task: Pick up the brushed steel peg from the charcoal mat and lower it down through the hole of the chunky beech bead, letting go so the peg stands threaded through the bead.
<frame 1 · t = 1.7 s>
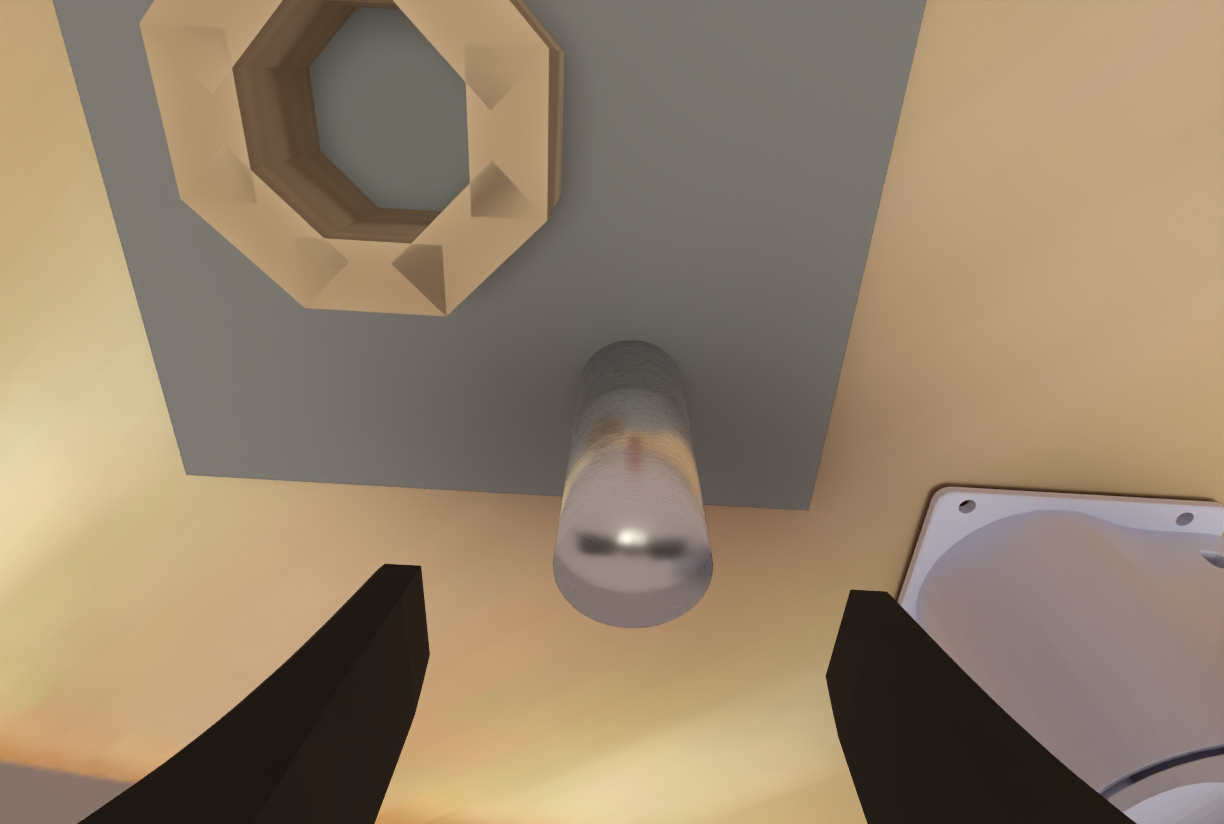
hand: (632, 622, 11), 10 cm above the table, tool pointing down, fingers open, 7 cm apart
charcoal mat: (494, 219, 18), on the table
steel peg: (631, 387, 20), point 1 cm above the table, touching charcoal mat
beech bead: (406, 115, 16), point 1 cm above the table, touching charcoal mat
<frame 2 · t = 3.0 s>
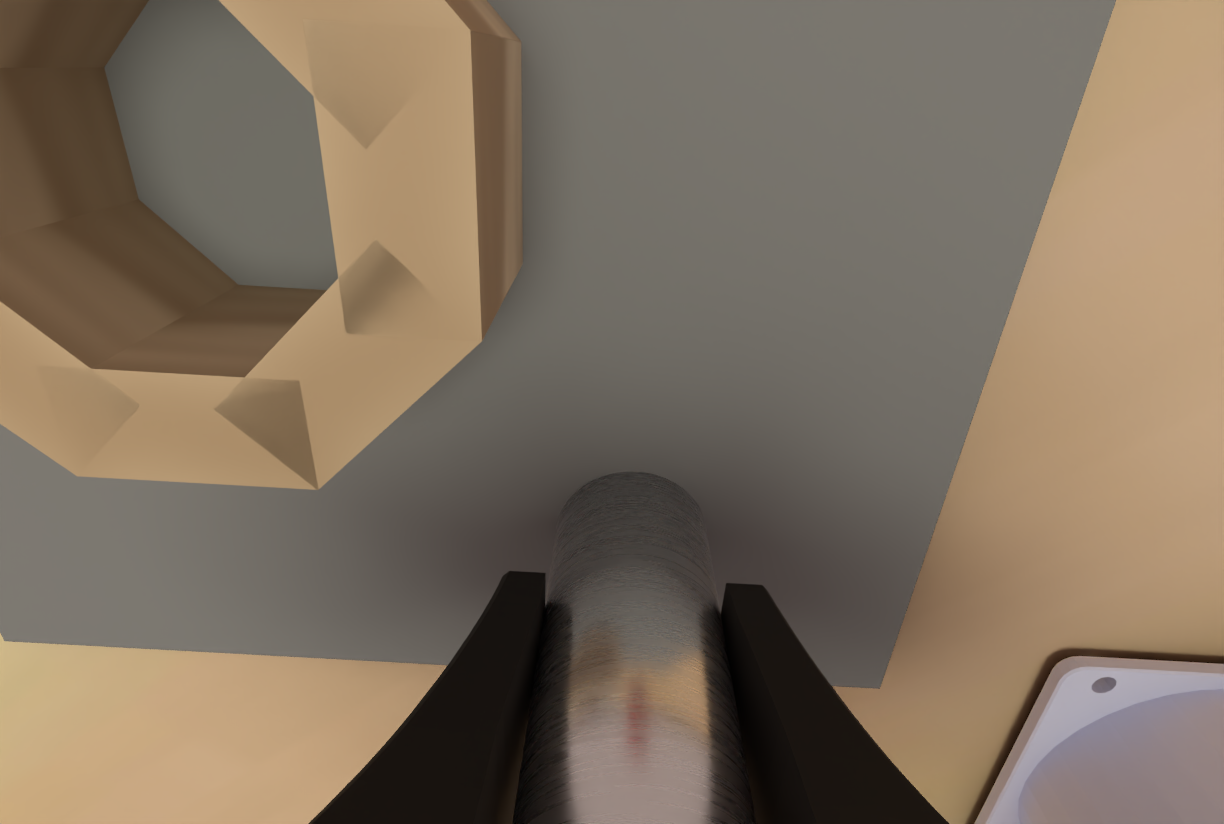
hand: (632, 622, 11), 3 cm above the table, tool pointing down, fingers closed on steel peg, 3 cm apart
charcoal mat: (423, 298, 12), on the table
steel peg: (631, 534, 13), point 1 cm above the table, touching charcoal mat, gripper
beech bead: (270, 145, 10), point 1 cm above the table, touching charcoal mat
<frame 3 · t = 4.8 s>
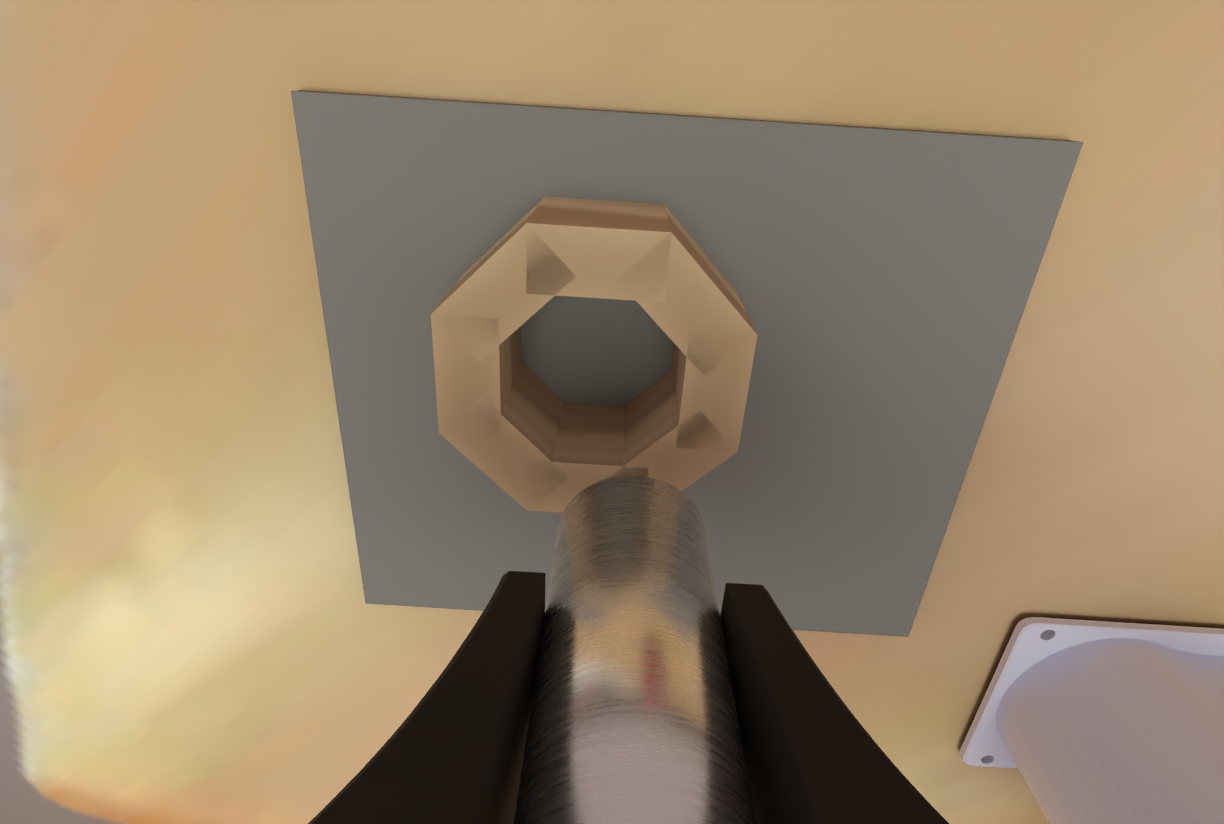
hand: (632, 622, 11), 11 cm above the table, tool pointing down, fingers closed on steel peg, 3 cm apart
charcoal mat: (657, 406, 21), on the table
steel peg: (631, 537, 14), point 8 cm above the table, touching gripper
beech bead: (597, 335, 20), point 1 cm above the table, touching charcoal mat
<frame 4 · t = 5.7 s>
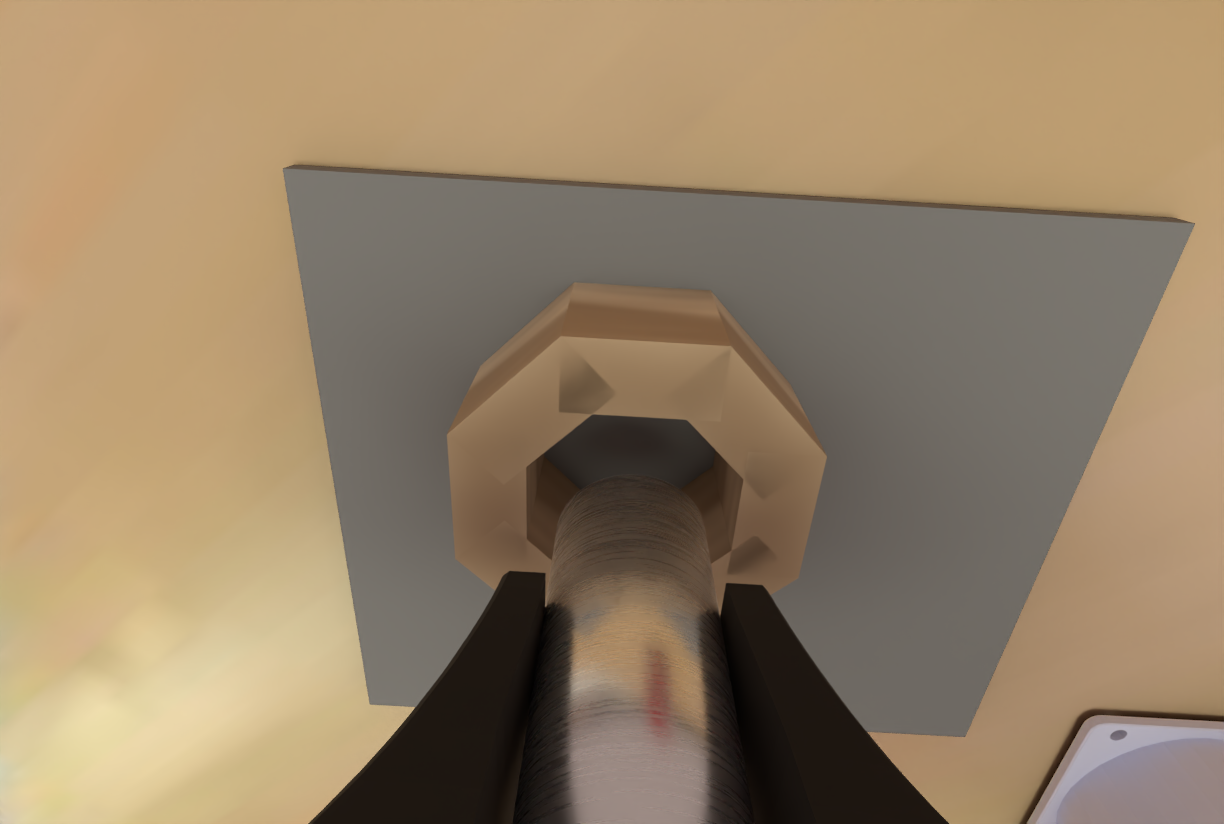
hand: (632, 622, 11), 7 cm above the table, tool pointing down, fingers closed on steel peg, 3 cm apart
charcoal mat: (695, 501, 19), on the table
steel peg: (630, 537, 13), point 5 cm above the table, touching gripper
beech bead: (631, 430, 17), point 1 cm above the table, touching charcoal mat
when the fingers open (5 cm above the table, at t = 6.5 s): steel peg drops 2 cm, resting on charcoal mat.
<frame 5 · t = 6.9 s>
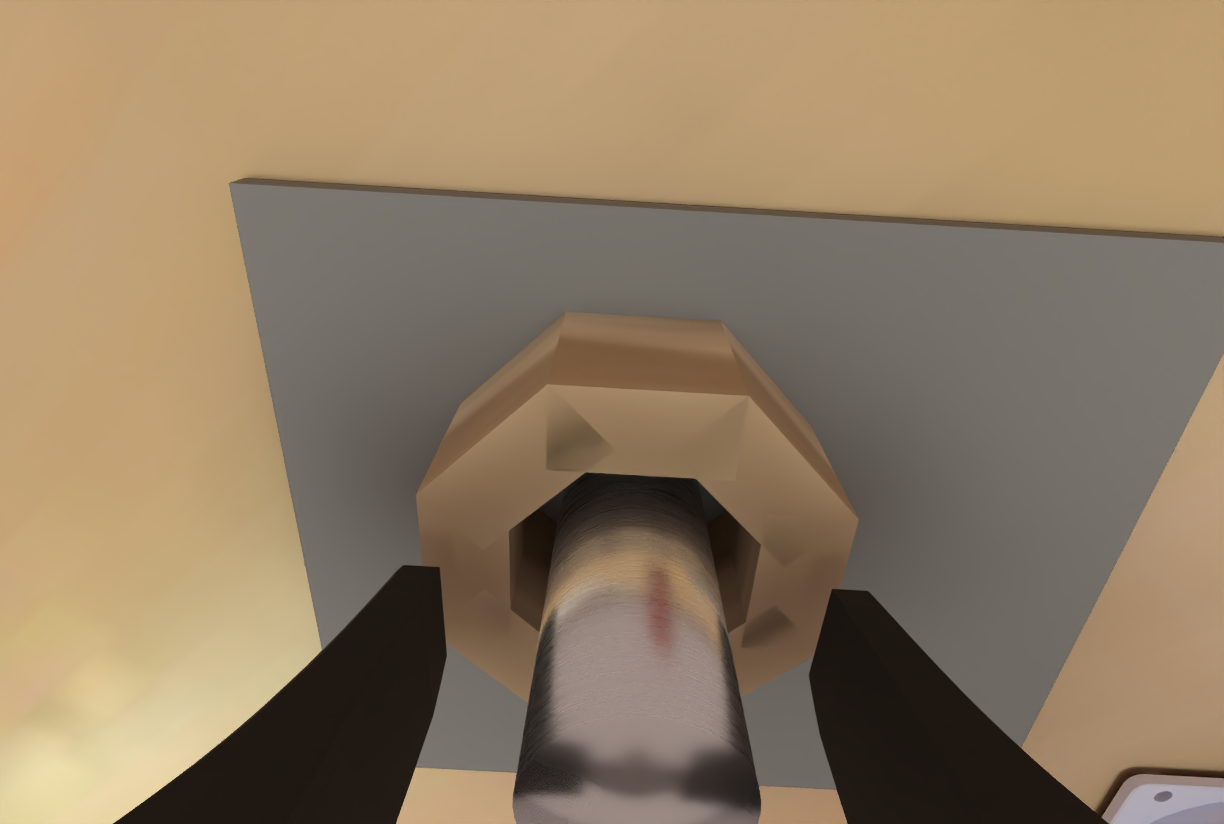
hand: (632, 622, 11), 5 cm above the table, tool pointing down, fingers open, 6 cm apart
charcoal mat: (701, 549, 17), on the table
steel peg: (630, 478, 15), point 1 cm above the table, touching charcoal mat
beech bead: (630, 475, 15), point 1 cm above the table, touching charcoal mat
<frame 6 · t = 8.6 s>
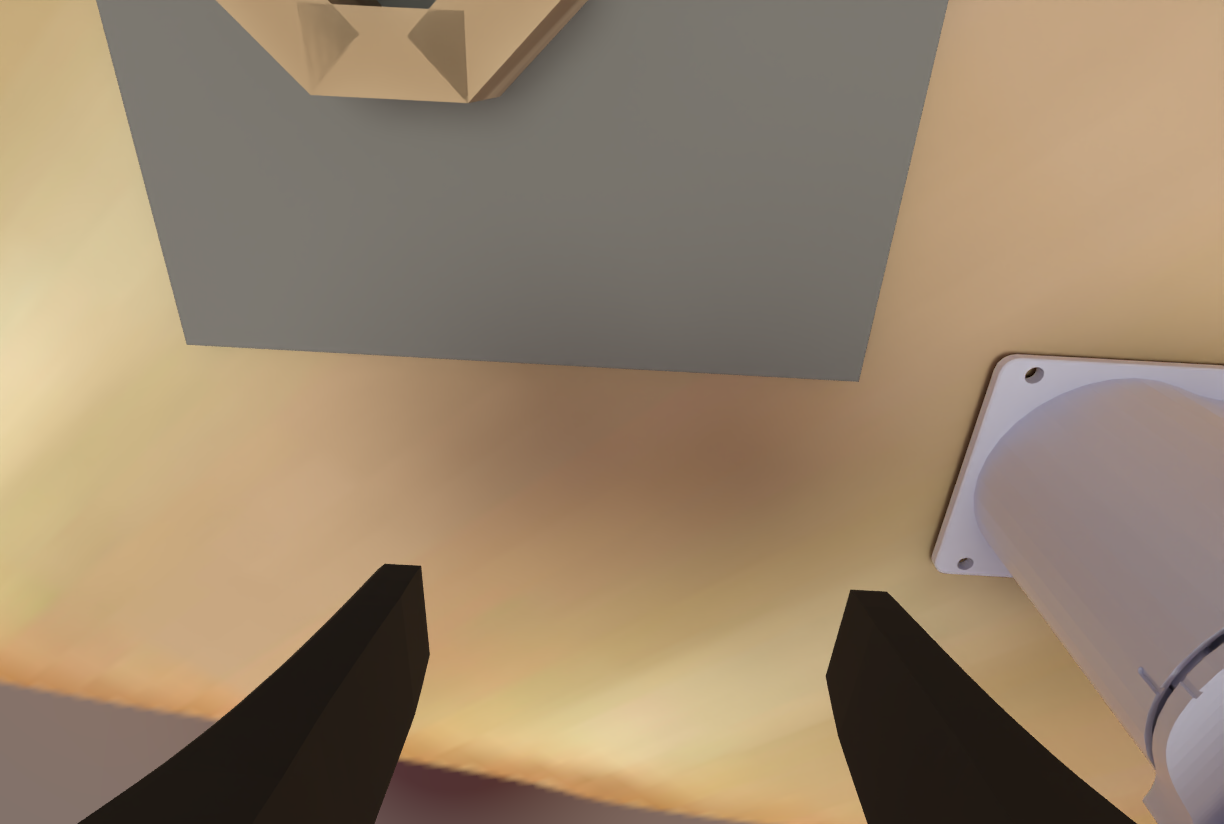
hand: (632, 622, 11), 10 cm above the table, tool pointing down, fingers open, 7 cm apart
charcoal mat: (518, 35, 17), on the table
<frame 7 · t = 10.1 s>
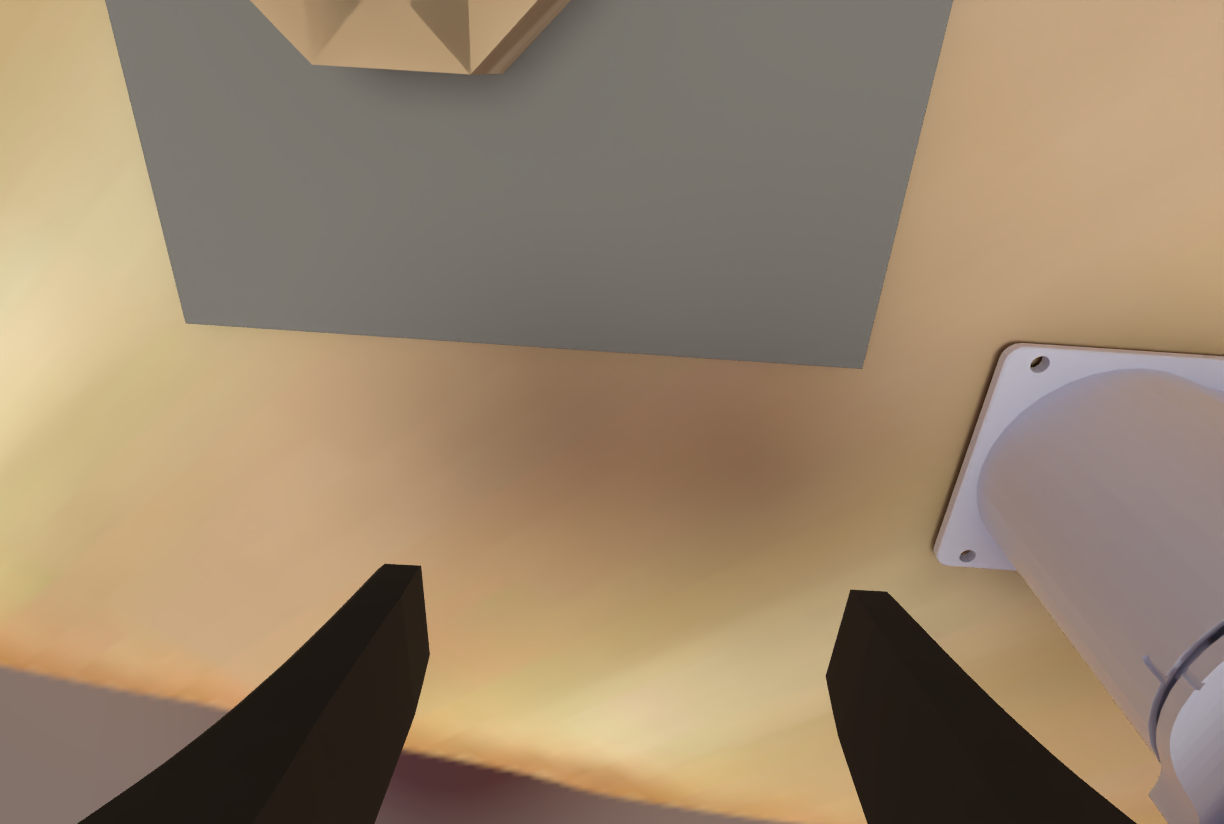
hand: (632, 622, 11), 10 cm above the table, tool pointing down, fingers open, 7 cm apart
charcoal mat: (523, 12, 16), on the table
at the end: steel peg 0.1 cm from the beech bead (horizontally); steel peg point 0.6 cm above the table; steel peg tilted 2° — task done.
